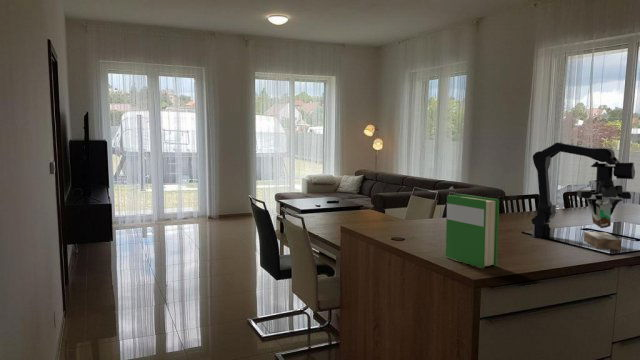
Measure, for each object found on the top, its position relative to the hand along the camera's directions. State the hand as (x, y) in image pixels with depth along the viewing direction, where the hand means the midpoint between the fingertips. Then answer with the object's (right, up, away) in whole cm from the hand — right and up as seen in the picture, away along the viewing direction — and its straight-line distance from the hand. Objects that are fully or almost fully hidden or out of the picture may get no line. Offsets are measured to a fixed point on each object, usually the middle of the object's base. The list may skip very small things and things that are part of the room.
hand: (602, 214), depth 191 cm
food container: (+1, -4, +1) cm, 5 cm away
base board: (0, -13, +1) cm, 13 cm away
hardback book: (-64, -16, -25) cm, 71 cm away
